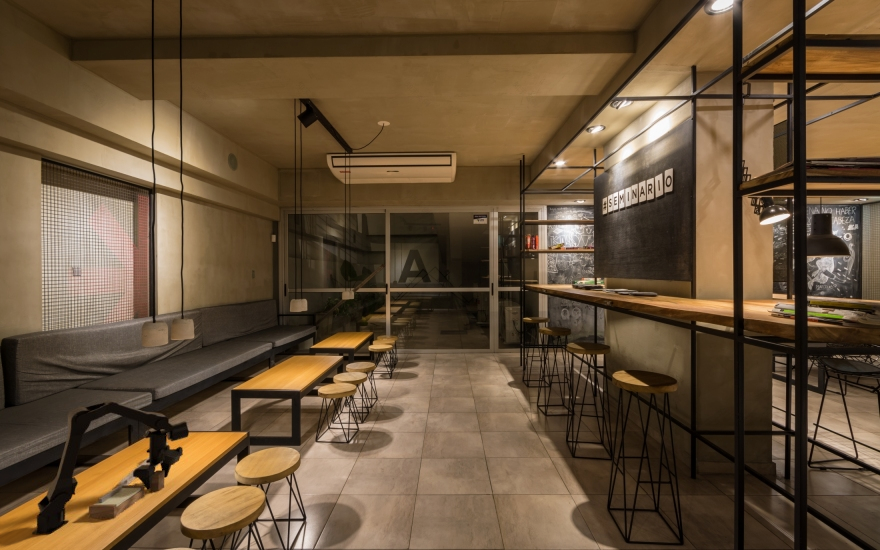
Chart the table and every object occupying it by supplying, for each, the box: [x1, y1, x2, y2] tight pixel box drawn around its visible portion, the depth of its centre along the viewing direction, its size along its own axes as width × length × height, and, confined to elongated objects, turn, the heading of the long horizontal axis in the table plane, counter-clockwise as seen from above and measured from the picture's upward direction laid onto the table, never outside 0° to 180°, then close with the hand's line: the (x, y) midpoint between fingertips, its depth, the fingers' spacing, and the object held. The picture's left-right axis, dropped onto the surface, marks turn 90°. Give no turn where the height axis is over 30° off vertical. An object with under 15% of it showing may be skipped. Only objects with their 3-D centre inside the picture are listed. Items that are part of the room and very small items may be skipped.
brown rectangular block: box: [150, 469, 165, 493], centre depth 153 cm, size 3×3×7 cm
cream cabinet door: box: [93, 486, 141, 506], centre depth 141 cm, size 11×8×2 cm
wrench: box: [117, 441, 169, 487], centre depth 169 cm, size 8×2×30 cm
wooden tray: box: [88, 484, 145, 520], centre depth 141 cm, size 14×9×4 cm, turn 1°
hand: (157, 483), depth 153 cm, fingers open, 9 cm apart
